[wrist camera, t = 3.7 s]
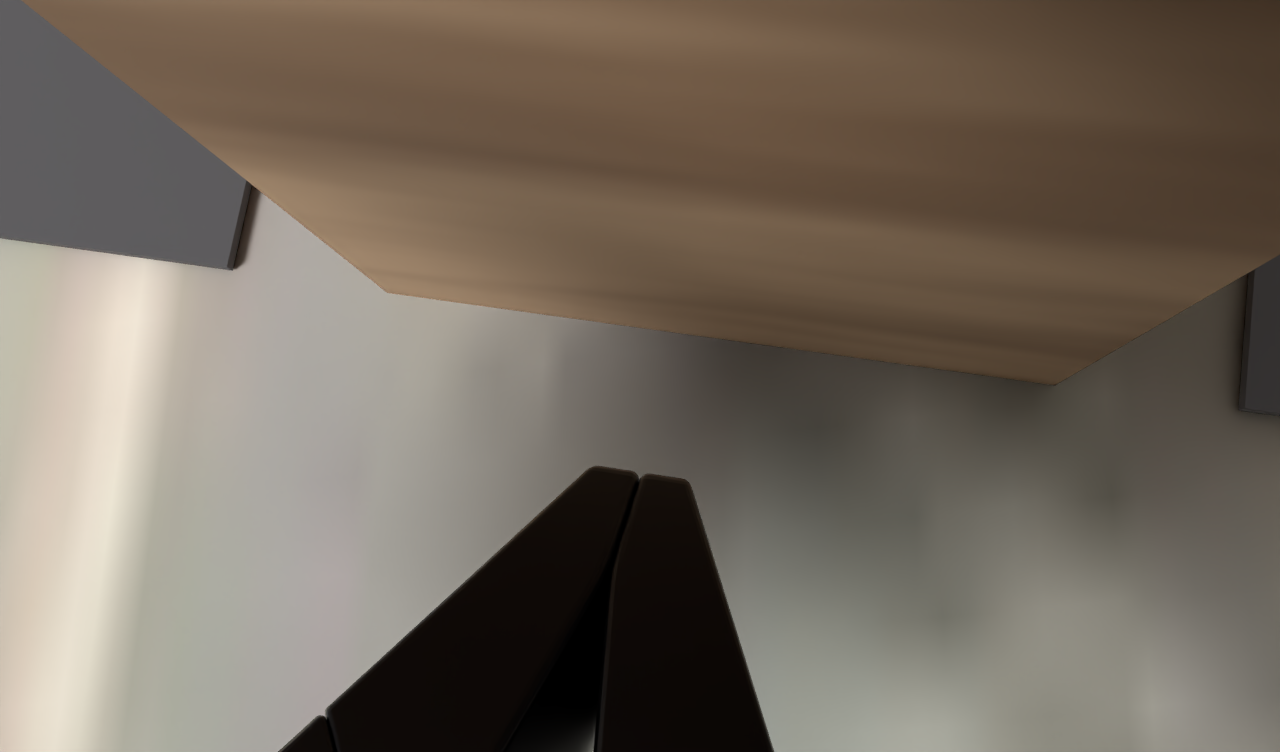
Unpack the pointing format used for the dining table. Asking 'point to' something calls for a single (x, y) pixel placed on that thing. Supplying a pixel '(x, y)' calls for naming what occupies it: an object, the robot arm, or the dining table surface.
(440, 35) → the walnut block
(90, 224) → the mats
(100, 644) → the dining table surface
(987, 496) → the dining table surface
